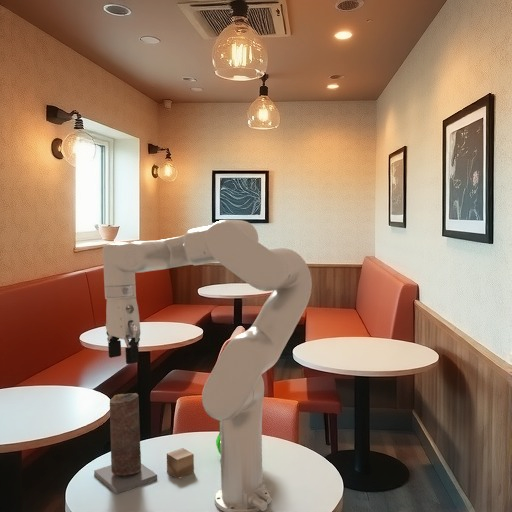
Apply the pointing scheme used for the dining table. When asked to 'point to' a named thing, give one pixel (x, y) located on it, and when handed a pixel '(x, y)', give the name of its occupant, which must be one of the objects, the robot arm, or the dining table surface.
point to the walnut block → (180, 463)
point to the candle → (125, 434)
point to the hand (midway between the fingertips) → (123, 359)
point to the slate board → (124, 478)
